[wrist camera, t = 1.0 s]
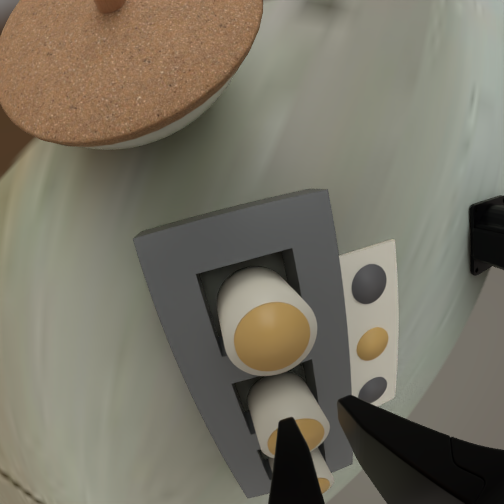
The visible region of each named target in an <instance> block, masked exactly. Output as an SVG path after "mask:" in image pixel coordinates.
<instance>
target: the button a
mask: <svg viewBox="0 0 504 504" xmlns="http://www.w3.org/2000/svg"><path fill="white" fill-rule="evenodd" d="M217 311H218V317H219V322H220V327H221V332H222V337H223V342H224V346H225V350H226V353H227V355H228V357H229V359H230V360H231V361H232V363H233V364H234V365H235V366H236V367H238V368H239V369H241V370H242V371H244V372H246V373H249V374H252V375H257V376H272V375H277V374H281V373H284V372H286V371H288V370H290V369H292V368H294V367H295V366H297V365H298V364H299V363H300V362H302V361H303V360H304V359H305V358H306V356H307V355H308V354H309V352H310V351H311V349H312V347H313V345H314V343H315V340H316V336H317V321H316V317H315V315H314V312H313V311H312V309H311V308H310V306H309V305H308V304H307V303H306V302H305V301H304V300H303V299H302V298H301V297H300V296H299V295H298V294H297V293H296V291H295V290H294V289H293V288H292V287H291V286H290V285H289V284H288V283H287V282H286V281H285V280H284V279H283V278H282V277H281V276H280V275H279V274H278V273H276V272H275V271H273V270H271V269H269V268H265V267H260V266H252V267H246V268H243V269H240V270H238V271H236V272H235V273H233V274H232V275H230V276H229V277H228V278H227V279H226V280H225V281H224V283H223V284H222V286H221V288H220V290H219V292H218V296H217Z"/></svg>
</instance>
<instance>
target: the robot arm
mask: <svg viewBox="0 0 504 504" xmlns="http://www.w3.org/2000/svg"><path fill="white" fill-rule="evenodd" d="M470 217H471V274H473V275H475V276H476V275H478V274H480V273H482V272H483V271H485V270H487V269H488V268H490V267H492V266H494V267H497V268H500V269H503V270H504V196H502V195H500V196H497V197H494V198H491V199H488V200H484V201H481V202H478V203H475V204H472V205H471V208H470ZM337 411H338V420H339V423H340V425H341V427H342V429H343V431H344V433H345V435H346V438H347V440H348V442H349V444H350V446H351V448H352V450H353V452H354V454H355V456H356V458H357V460H358V462H359V463H360V465H361V467H362V468H363V470H364V471H365V473H366V474H367V475H368V477H369V478H370V480H371V481H372V482H373V484H374V485H375V487H376V488H377V490H378V491H379V493H380V494H381V495H382V497H383V498H384V500H385V501H386V502H387V504H504V450H500V449H494V448H489V447H484V446H480V445H476V444H473V443H469V442H466V441H463V440H460V439H457V438H454V437H450V436H448V435H446V434H443V433H440V432H437V431H435V430H432V429H430V428H427V427H425V426H422V425H420V424H417V423H415V422H412V421H410V420H407V419H405V418H403V417H400V416H398V415H395V414H393V413H391V412H388V411H386V410H384V409H382V408H379V407H377V406H375V405H373V404H370V403H368V402H366V401H364V400H362V399H360V398H357V397H355V396H353V395H347V396H345V397H342V398H340V399H338V400H337ZM268 504H325V503H324V499H323V496H322V492H321V488H320V485H319V481H318V478H317V474H316V470H315V467H314V463H313V459H312V456H311V452H310V449H309V447H308V444H307V442H306V440H305V438H304V437H303V435H302V433H301V431H300V429H299V427H298V425H297V423H296V421H295V419H294V418H293V417H288V418H285V419H282V420H280V421H279V422H278V430H277V439H276V448H275V456H274V464H273V472H272V480H271V487H270V495H269V502H268Z"/></svg>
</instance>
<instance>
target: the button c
mask: <svg viewBox="0 0 504 504" xmlns="http://www.w3.org/2000/svg"><path fill="white" fill-rule="evenodd" d="M311 456H312V459H313V463H314V467H315V470H316V474H317V478H318V481H319V485H320V488H321V492H322V494H323V493H324V492H326V491H327V490H328V489H329V488H330V487H331V486H332V485H333V483H334V478H333V476H332V474H331V472H330V470H329V468H328V466H327V464H326V462H325V460H324V458H323V456H322V454H321V452H320V451H319V449H318V447H317V448H316V449H314V450H312V451H311ZM268 461H269V464H270V467H271V470H272V472H273V464H274V458H271V457H269V456H268Z"/></svg>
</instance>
